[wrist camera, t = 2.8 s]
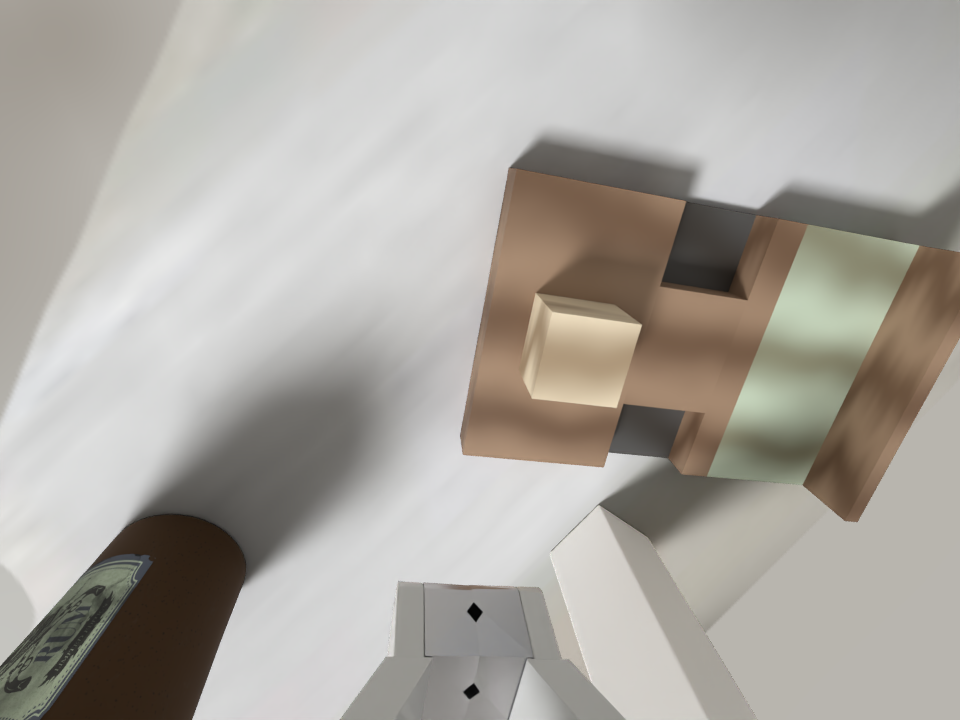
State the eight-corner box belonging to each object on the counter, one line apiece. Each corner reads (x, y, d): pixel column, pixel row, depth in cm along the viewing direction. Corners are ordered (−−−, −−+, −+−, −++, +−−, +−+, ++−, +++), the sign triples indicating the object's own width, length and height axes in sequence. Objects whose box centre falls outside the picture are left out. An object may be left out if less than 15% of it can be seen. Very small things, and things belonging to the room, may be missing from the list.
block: (593, 379, 31) (616, 408, 28) (518, 370, 30) (531, 398, 27) (614, 304, 30) (641, 324, 26) (535, 292, 29) (552, 312, 25)
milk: (647, 536, 40) (880, 914, 20) (597, 583, 42) (768, 982, 21) (596, 502, 38) (798, 884, 18) (546, 553, 40) (680, 961, 19)
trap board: (790, 466, 39) (857, 521, 33) (460, 435, 35) (468, 492, 29) (897, 242, 33) (1003, 259, 27) (509, 168, 28) (532, 169, 22)
